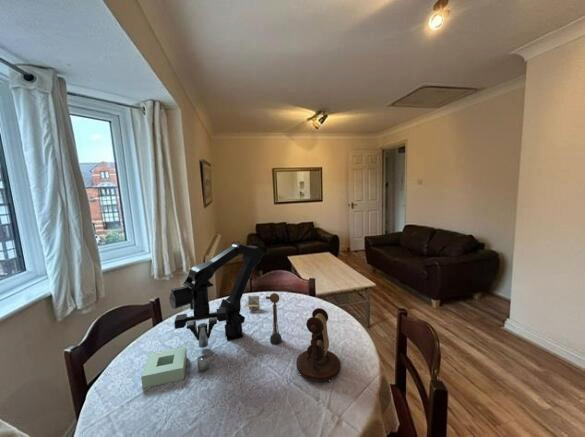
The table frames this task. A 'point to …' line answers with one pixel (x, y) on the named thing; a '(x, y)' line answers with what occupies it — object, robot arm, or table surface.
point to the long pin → (203, 335)
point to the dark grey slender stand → (275, 320)
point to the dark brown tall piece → (318, 351)
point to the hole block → (164, 367)
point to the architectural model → (253, 302)
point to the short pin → (203, 363)
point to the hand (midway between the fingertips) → (203, 338)
